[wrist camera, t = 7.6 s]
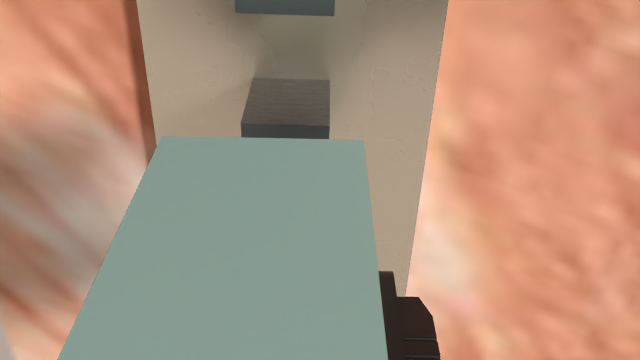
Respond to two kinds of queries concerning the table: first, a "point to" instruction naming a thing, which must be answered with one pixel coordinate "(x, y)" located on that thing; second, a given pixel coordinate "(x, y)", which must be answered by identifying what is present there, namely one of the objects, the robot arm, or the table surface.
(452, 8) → the table surface
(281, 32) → the rail
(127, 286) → the pale aqua block
